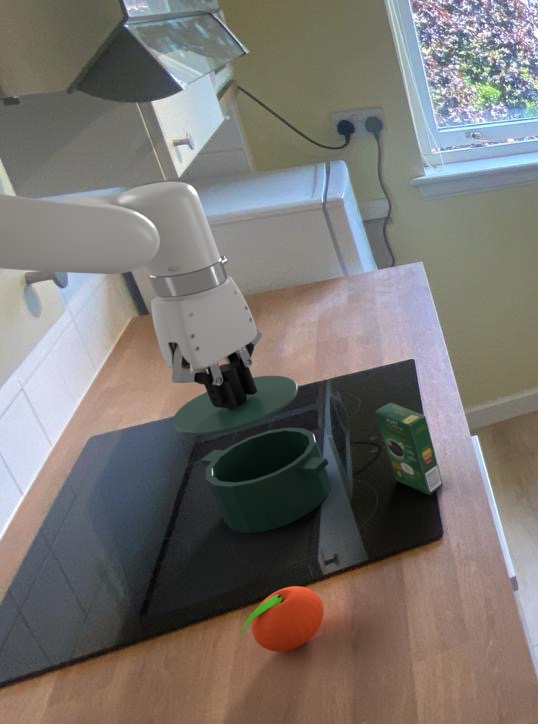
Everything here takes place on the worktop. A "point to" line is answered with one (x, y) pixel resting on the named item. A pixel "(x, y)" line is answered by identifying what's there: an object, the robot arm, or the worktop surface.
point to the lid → (249, 409)
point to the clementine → (286, 618)
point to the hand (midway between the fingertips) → (235, 398)
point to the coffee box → (409, 448)
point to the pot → (268, 479)
